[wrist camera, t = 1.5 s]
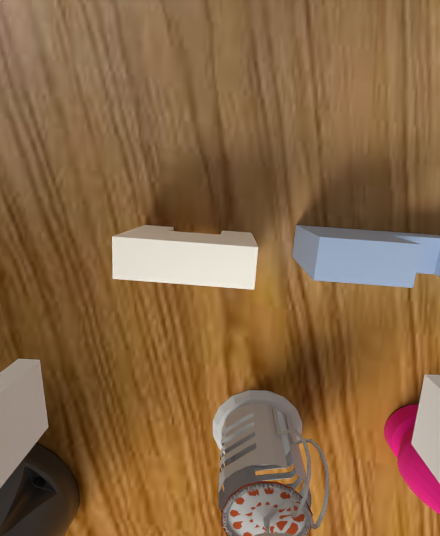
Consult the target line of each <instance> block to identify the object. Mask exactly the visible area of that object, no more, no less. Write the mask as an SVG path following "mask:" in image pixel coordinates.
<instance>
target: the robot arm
mask: <svg viewBox="0 0 440 536" xmlns="http://www.w3.org/2000/svg"><path fill="white" fill-rule="evenodd" d="M47 428H48V419H47V411H46V404H45V396H44V389H43V381H42V373H41V366H40V360H38V359H17V360H16V361H15V362H13V363H12V364H11V365H10V366H8V367H7V368H6V369H4V370H3V371H2V372H0V536H65V534H66V532H67V530H68V528H69V526H70V524H71V522H72V520H73V518H74V516H75V514H76V512H77V509H78V504H79V493H78V488H77V484H76V482H75V479H74V477H73V475H72V474H71V472H70V471H69V469H68V468H67V466H66V465H65V464H64V463H63V462H62V461H61V460H60V459H59V458H58V457H57V456H56V455H54V454H53V453H52V452H50V451H49V450H47V449H45V448H44V447H42V446H40V445H38V444H35V443H36V442H37V441H38V440H39V438H40V437H41V436H42V435H43V433H44V432H45V431H46V430H47ZM411 444H412V445H413V447H414V448H415V450H416V451H417V452H418V454H419V455H420V457H421V458H422V460H423V461H424V462H425V464H426V465H427V467H428V468H429V469H430V471H431V472H432V474H433V475H434V476H435V478H436V479H437V481H438V482H439V483H440V375H428V374H425V376H424V381H423V386H422V391H421V396H420V401H419V407H418V412H417V417H416V422H415V427H414V432H413V437H412V443H411Z"/></svg>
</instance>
